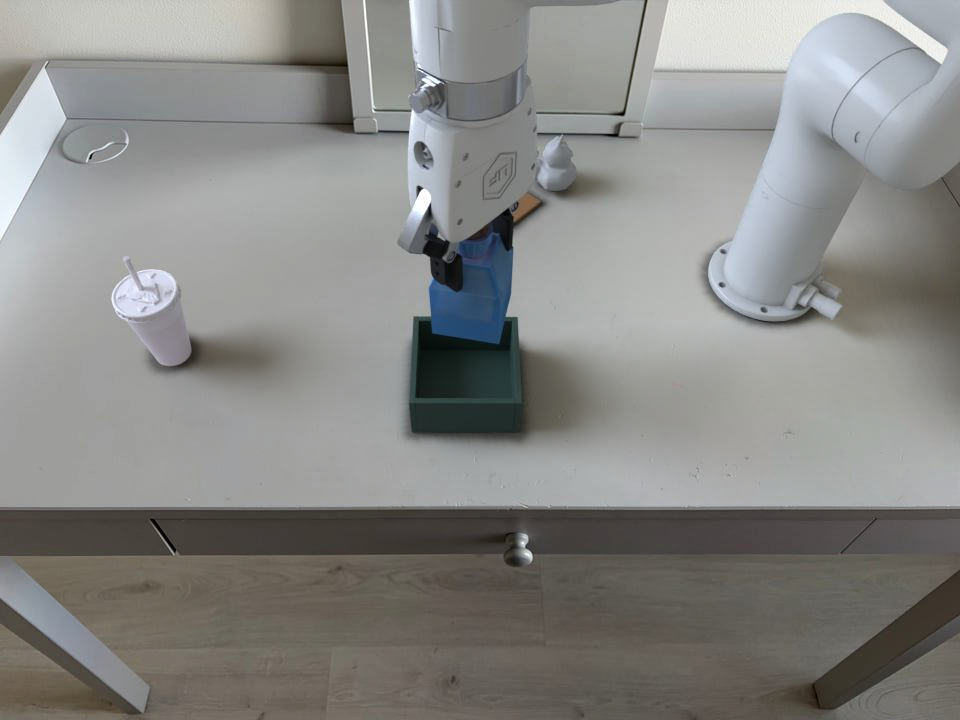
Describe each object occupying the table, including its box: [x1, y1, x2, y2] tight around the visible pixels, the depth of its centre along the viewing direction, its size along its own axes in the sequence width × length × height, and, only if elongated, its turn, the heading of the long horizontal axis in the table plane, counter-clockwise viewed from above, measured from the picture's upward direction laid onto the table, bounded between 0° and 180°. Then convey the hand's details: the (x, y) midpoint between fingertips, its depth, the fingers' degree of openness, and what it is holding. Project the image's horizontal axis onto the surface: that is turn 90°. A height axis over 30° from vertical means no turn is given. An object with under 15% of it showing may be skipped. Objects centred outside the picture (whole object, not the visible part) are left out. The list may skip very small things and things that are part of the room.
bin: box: [408, 315, 523, 433], centre depth 79 cm, size 11×11×5 cm
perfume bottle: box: [428, 222, 514, 344], centre depth 67 cm, size 6×6×12 cm
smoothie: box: [110, 255, 192, 367], centre depth 78 cm, size 6×6×14 cm
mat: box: [512, 192, 542, 225], centre depth 98 cm, size 7×7×1 cm
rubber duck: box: [535, 133, 578, 192], centre depth 98 cm, size 5×7×8 cm
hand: (472, 260), depth 67 cm, fingers closed on perfume bottle, 5 cm apart
